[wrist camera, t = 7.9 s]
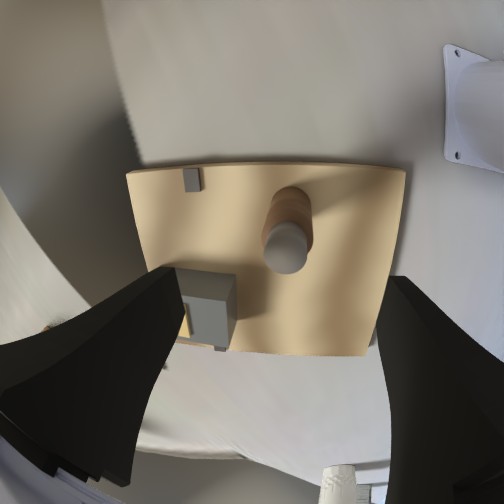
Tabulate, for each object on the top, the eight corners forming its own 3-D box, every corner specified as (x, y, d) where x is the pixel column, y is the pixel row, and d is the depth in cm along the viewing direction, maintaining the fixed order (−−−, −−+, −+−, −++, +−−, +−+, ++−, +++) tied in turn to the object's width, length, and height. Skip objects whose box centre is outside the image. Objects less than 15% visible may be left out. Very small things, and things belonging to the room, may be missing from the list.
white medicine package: (348, 472, 44) (346, 509, 36) (316, 471, 45) (312, 510, 36) (364, 463, 40) (363, 504, 31) (329, 463, 41) (325, 506, 32)
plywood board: (400, 168, 15) (407, 173, 14) (363, 348, 23) (365, 358, 22) (133, 170, 18) (123, 175, 17) (174, 334, 26) (170, 343, 25)
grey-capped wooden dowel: (311, 186, 16) (316, 230, 11) (310, 224, 17) (312, 281, 12) (270, 186, 16) (254, 228, 11) (271, 223, 17) (257, 279, 12)
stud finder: (236, 274, 20) (224, 304, 17) (237, 320, 22) (228, 351, 19) (159, 265, 20) (139, 291, 18) (168, 309, 23) (153, 336, 20)
